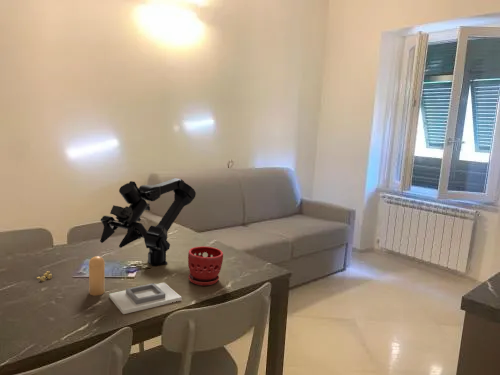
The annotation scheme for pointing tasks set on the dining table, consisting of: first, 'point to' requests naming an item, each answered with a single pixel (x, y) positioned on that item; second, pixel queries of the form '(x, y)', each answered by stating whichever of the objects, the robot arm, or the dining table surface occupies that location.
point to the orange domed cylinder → (96, 276)
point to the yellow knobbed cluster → (45, 276)
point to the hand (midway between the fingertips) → (110, 244)
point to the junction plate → (144, 297)
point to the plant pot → (204, 265)
